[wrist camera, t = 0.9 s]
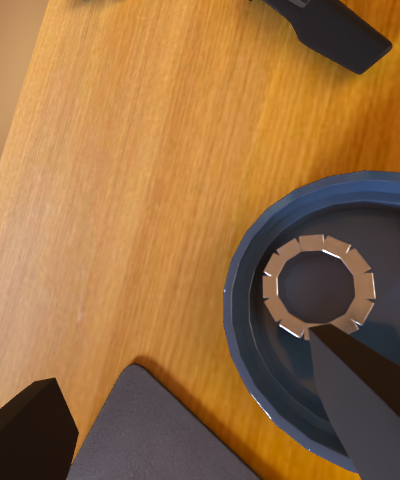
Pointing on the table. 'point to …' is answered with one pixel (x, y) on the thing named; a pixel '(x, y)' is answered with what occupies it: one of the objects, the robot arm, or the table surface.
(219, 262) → the table surface
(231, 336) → the bowl
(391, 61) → the table surface
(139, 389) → the mouse pad
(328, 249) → the steel ring
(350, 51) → the electric trimmer
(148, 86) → the table surface
